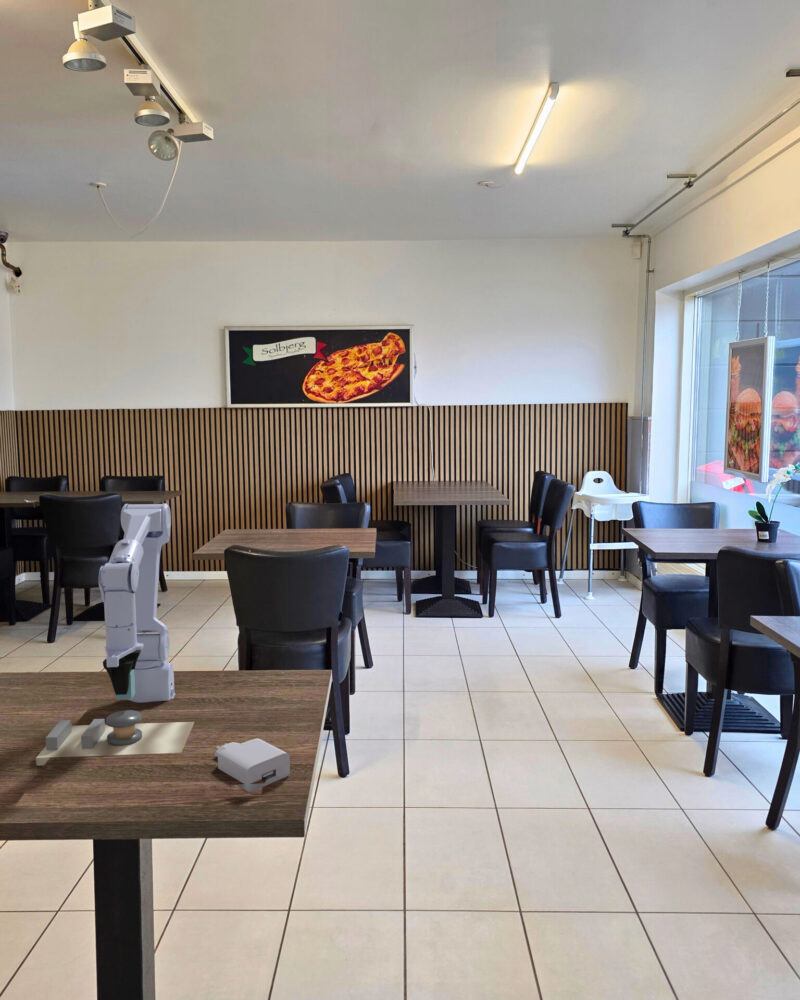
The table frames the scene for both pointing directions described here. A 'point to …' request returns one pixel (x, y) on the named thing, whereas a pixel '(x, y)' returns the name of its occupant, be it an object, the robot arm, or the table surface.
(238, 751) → the charger
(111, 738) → the bobbin
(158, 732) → the board
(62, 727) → the gray parallel rails
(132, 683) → the peg
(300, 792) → the table surface
